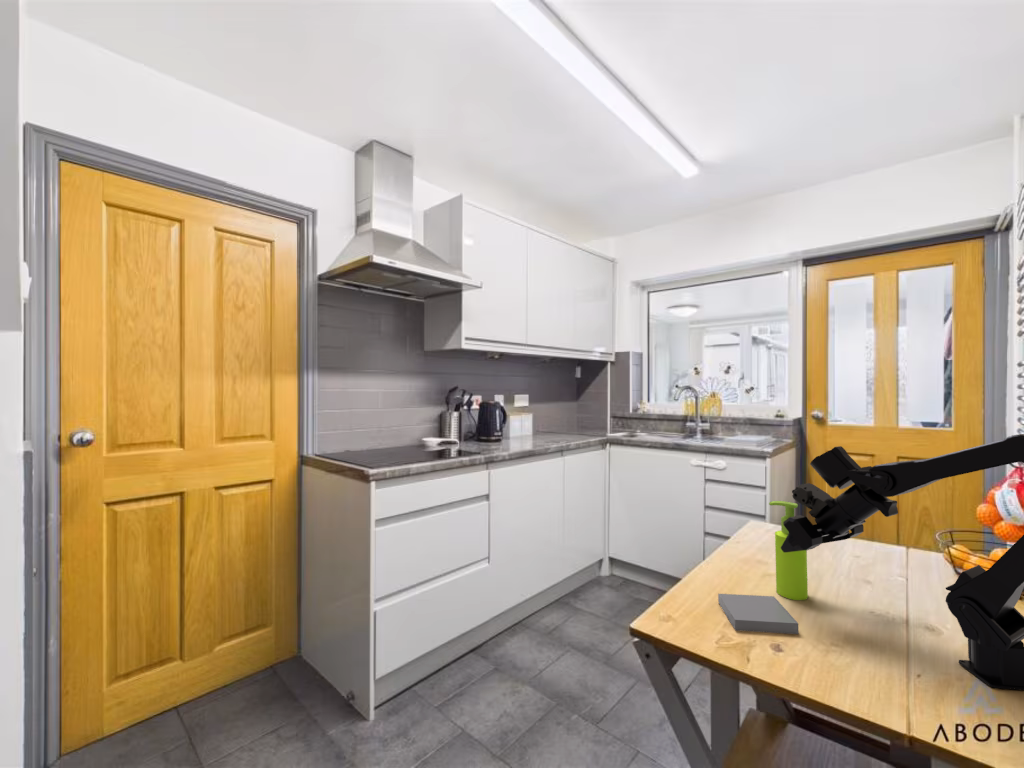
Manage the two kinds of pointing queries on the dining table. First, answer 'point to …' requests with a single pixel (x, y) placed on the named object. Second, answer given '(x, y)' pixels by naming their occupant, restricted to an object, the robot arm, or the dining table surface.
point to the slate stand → (757, 614)
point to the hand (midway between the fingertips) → (796, 546)
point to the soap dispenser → (789, 562)
